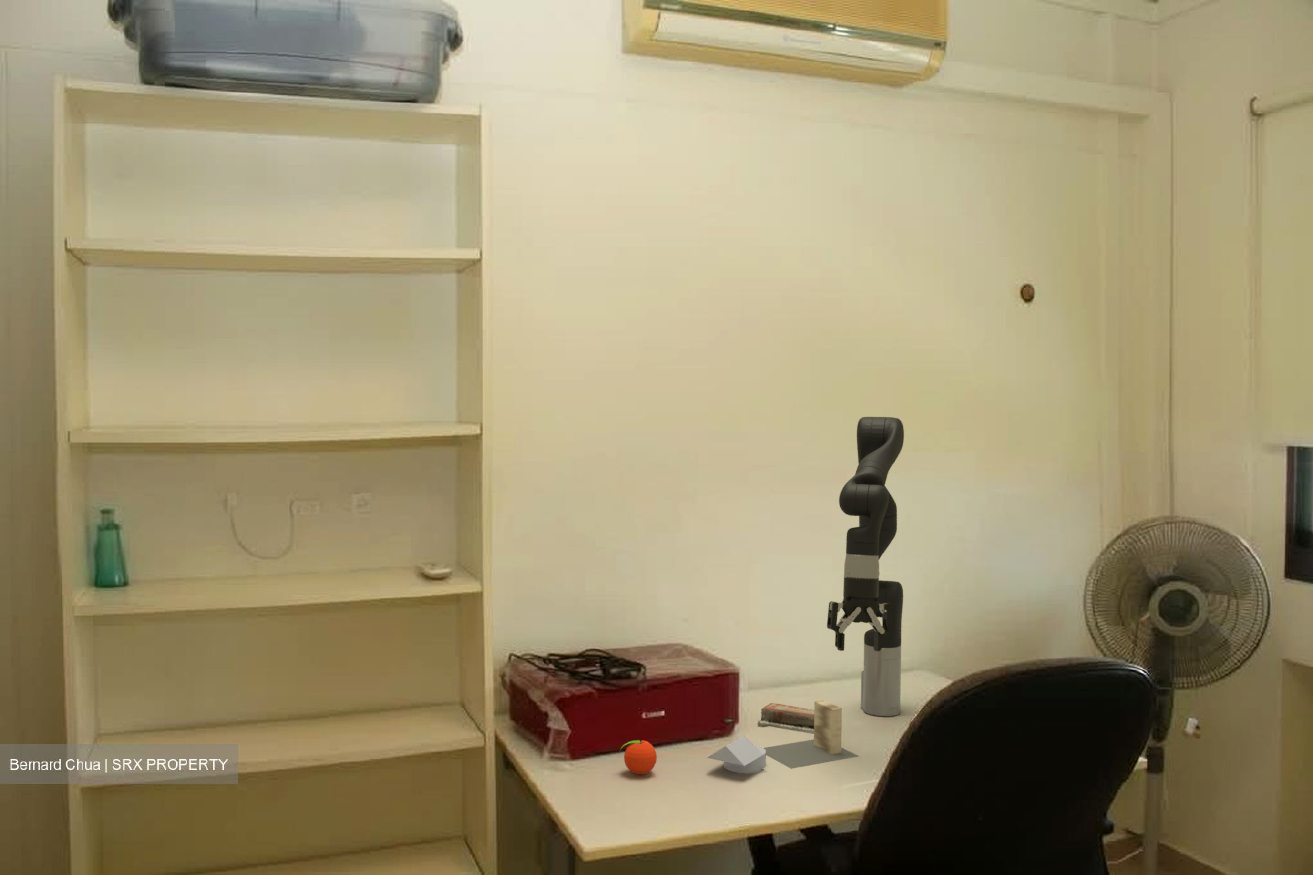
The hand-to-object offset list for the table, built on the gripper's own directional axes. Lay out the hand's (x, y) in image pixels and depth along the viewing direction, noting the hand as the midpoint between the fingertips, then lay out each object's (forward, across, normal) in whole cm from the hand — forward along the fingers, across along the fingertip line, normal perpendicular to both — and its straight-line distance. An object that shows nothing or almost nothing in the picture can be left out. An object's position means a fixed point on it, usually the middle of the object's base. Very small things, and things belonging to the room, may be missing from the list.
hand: (858, 650), depth 238 cm
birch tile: (+23, +2, -10) cm, 26 cm away
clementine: (+27, +47, -6) cm, 54 cm away
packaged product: (+23, +2, -29) cm, 37 cm away
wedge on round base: (+26, +25, -4) cm, 36 cm away
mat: (+24, +7, -9) cm, 27 cm away
